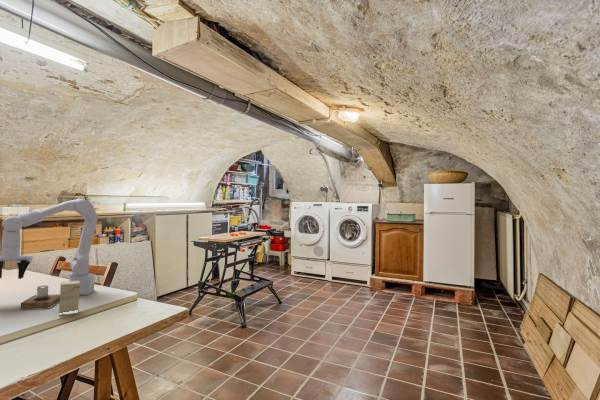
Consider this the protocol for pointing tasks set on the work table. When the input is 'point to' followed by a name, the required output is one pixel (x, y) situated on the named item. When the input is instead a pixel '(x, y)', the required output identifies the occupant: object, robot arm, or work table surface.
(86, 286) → the robot arm
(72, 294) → the skincare box
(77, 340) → the work table surface
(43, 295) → the pin
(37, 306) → the socket block
